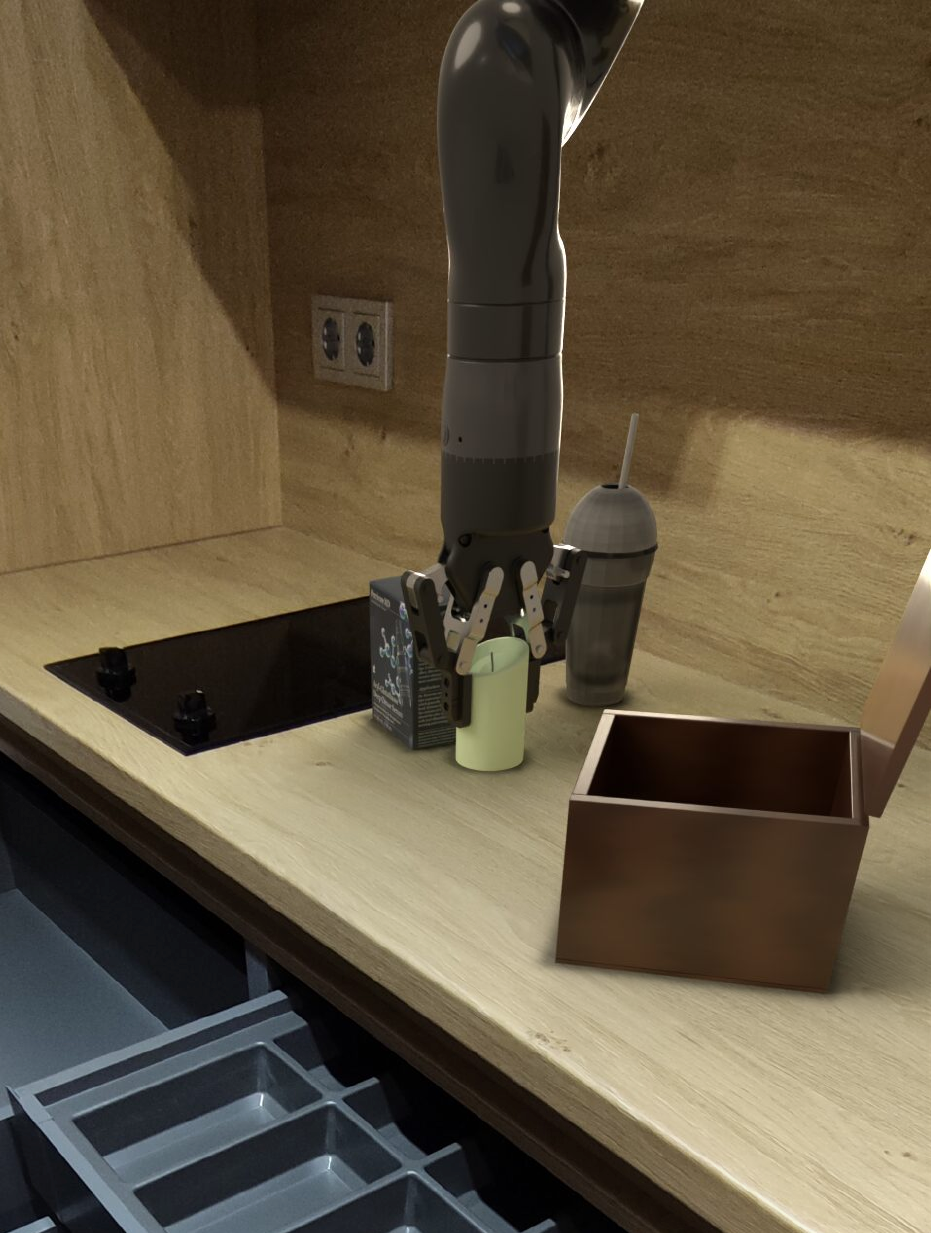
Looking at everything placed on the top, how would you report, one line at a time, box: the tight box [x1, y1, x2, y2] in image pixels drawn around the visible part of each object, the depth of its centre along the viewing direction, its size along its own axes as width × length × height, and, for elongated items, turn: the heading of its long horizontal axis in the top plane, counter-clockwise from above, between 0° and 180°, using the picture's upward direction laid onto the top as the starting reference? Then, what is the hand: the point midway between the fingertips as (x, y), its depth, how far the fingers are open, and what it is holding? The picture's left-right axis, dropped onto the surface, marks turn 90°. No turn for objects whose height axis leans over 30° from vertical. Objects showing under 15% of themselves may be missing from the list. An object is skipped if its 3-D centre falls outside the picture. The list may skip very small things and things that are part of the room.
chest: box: [554, 708, 871, 995], centre depth 69 cm, size 15×14×10 cm
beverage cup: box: [561, 413, 659, 707], centre depth 95 cm, size 7×7×20 cm
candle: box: [455, 636, 529, 772], centre depth 89 cm, size 5×5×8 cm
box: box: [368, 575, 481, 751], centre depth 93 cm, size 8×6×11 cm
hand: (490, 716), depth 90 cm, fingers closed on candle, 4 cm apart
